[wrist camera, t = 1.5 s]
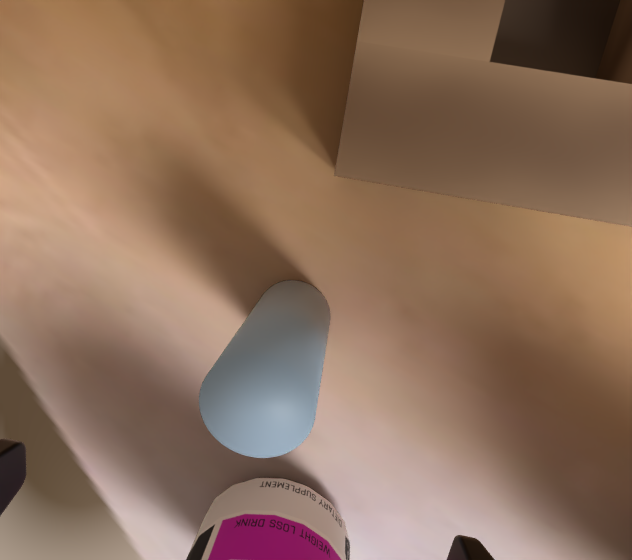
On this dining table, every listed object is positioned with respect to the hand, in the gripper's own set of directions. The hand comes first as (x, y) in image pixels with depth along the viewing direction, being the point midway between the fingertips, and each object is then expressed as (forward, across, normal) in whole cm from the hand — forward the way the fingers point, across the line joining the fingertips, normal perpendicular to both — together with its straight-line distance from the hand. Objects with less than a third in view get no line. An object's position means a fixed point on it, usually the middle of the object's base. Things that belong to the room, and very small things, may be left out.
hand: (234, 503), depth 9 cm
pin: (+12, 0, +1) cm, 12 cm away
